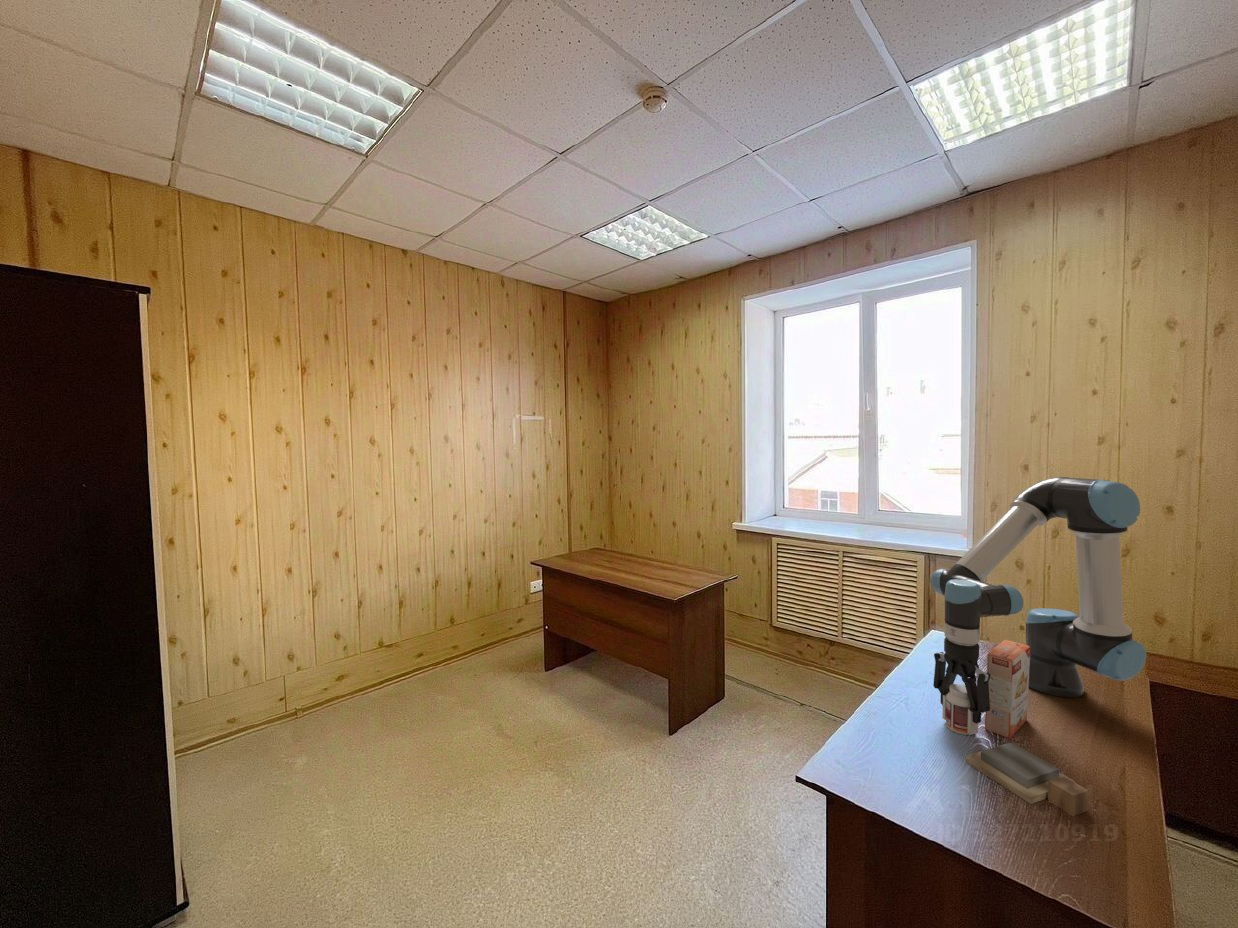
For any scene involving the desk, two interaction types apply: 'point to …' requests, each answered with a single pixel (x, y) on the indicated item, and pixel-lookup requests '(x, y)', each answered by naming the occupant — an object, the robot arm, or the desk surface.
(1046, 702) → the desk surface
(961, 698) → the pill bottle
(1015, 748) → the podium
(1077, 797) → the walnut cube
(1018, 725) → the cracker box
